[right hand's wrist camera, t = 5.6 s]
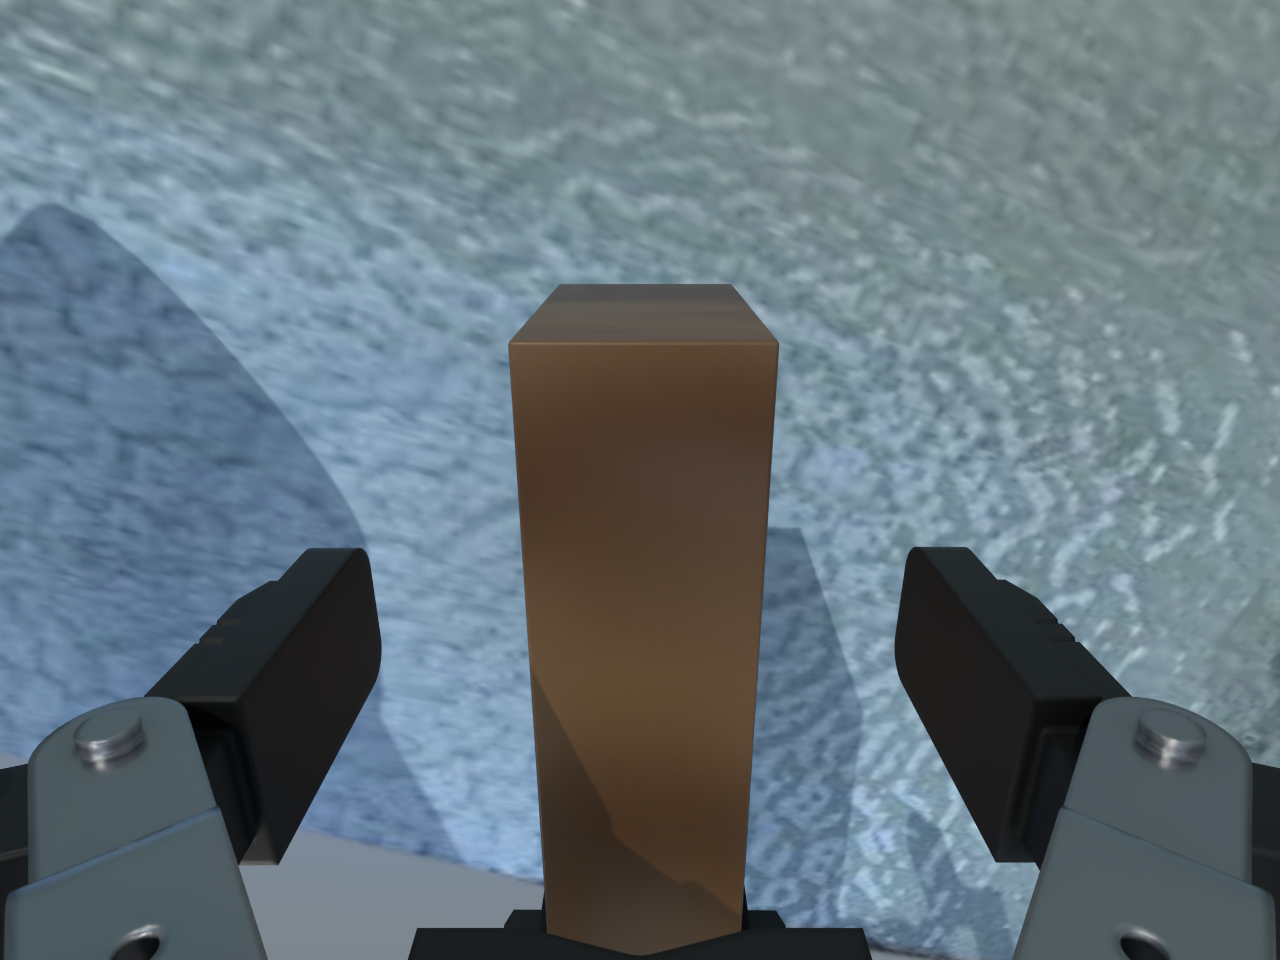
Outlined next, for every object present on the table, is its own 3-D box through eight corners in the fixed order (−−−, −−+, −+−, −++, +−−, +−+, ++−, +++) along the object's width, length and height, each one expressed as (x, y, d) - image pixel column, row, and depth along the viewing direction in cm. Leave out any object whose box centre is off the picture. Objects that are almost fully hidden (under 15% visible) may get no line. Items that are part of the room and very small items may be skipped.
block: (558, 283, 20) (507, 341, 13) (732, 284, 20) (780, 341, 13) (583, 895, 28) (560, 1142, 21) (707, 895, 28) (727, 1144, 21)
